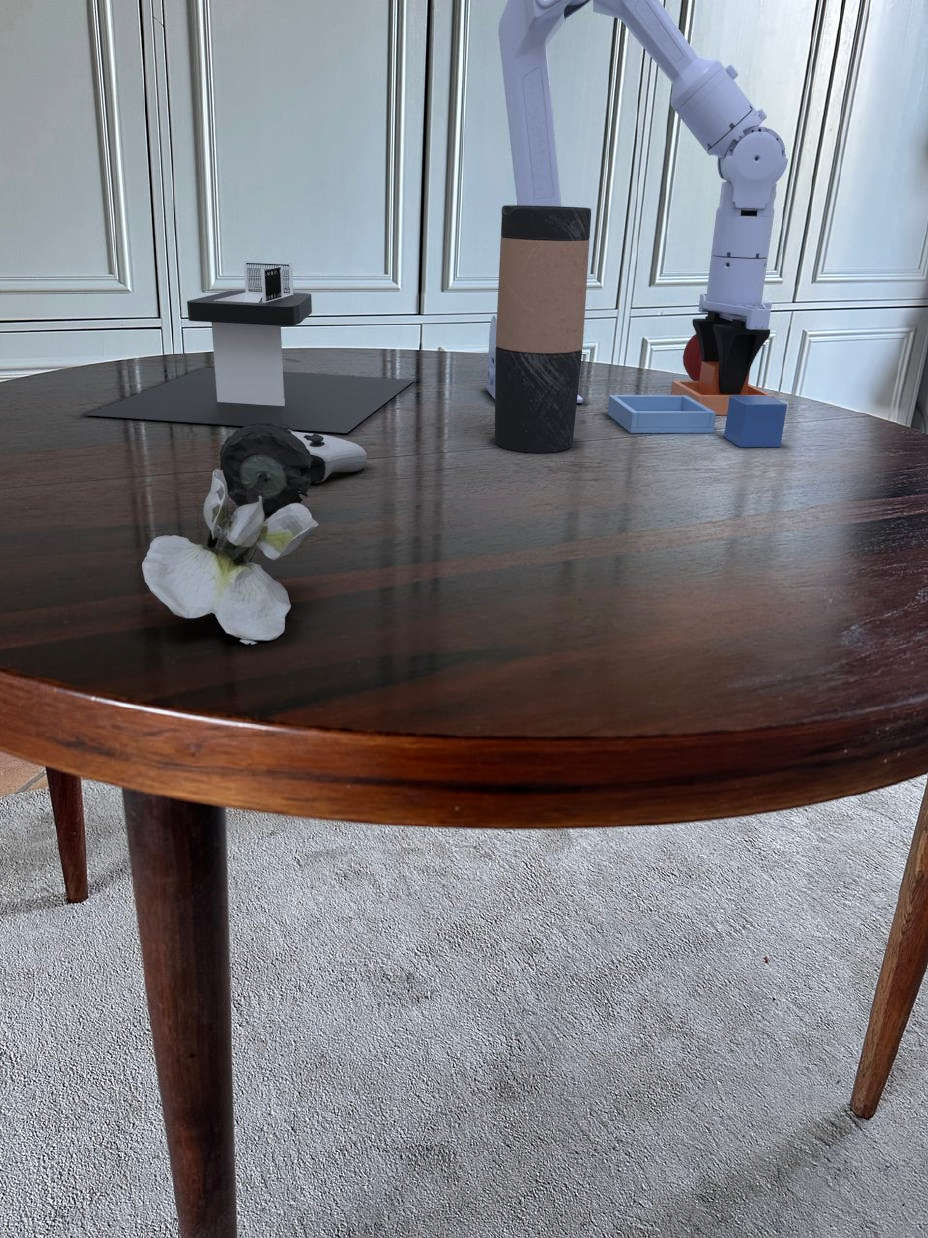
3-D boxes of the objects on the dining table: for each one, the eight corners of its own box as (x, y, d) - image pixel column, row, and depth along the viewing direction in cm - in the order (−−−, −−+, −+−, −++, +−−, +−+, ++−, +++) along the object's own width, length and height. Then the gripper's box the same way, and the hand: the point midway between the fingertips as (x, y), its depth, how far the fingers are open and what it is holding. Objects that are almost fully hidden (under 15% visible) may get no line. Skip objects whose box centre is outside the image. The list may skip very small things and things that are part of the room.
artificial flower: (336, 528, 71) (370, 399, 66) (262, 713, 51) (302, 550, 46) (214, 492, 70) (239, 358, 65) (92, 666, 51) (114, 494, 46)
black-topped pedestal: (346, 434, 92) (343, 282, 86) (84, 416, 96) (65, 270, 90) (414, 381, 117) (415, 261, 111) (204, 368, 121) (195, 252, 115)
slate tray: (630, 433, 95) (632, 412, 95) (607, 414, 103) (608, 394, 102) (713, 432, 97) (716, 412, 96) (684, 414, 104) (686, 395, 103)
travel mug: (586, 439, 92) (604, 207, 84) (558, 458, 86) (575, 208, 78) (510, 429, 95) (521, 204, 87) (478, 446, 89) (486, 205, 81)
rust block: (709, 405, 106) (714, 367, 104) (696, 398, 110) (701, 361, 108) (745, 405, 107) (750, 367, 105) (731, 398, 110) (736, 361, 109)
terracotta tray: (696, 414, 104) (698, 395, 103) (670, 398, 111) (672, 380, 111) (771, 414, 105) (774, 395, 104) (741, 398, 113) (743, 380, 112)
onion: (734, 394, 115) (744, 323, 112) (684, 392, 115) (693, 321, 112) (723, 385, 120) (732, 316, 117) (675, 383, 120) (683, 315, 117)
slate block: (739, 447, 91) (745, 404, 90) (723, 437, 95) (729, 395, 93) (780, 447, 92) (787, 404, 90) (763, 436, 95) (769, 395, 94)
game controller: (373, 455, 81) (350, 414, 76) (355, 513, 79) (329, 475, 74) (269, 443, 84) (239, 402, 78) (248, 498, 82) (217, 460, 77)
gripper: (807, 262, 96) (785, 403, 102) (748, 252, 109) (731, 377, 115) (738, 261, 95) (719, 403, 101) (687, 251, 108) (673, 377, 114)
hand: (721, 389), depth 108 cm, fingers closed on rust block, 4 cm apart
